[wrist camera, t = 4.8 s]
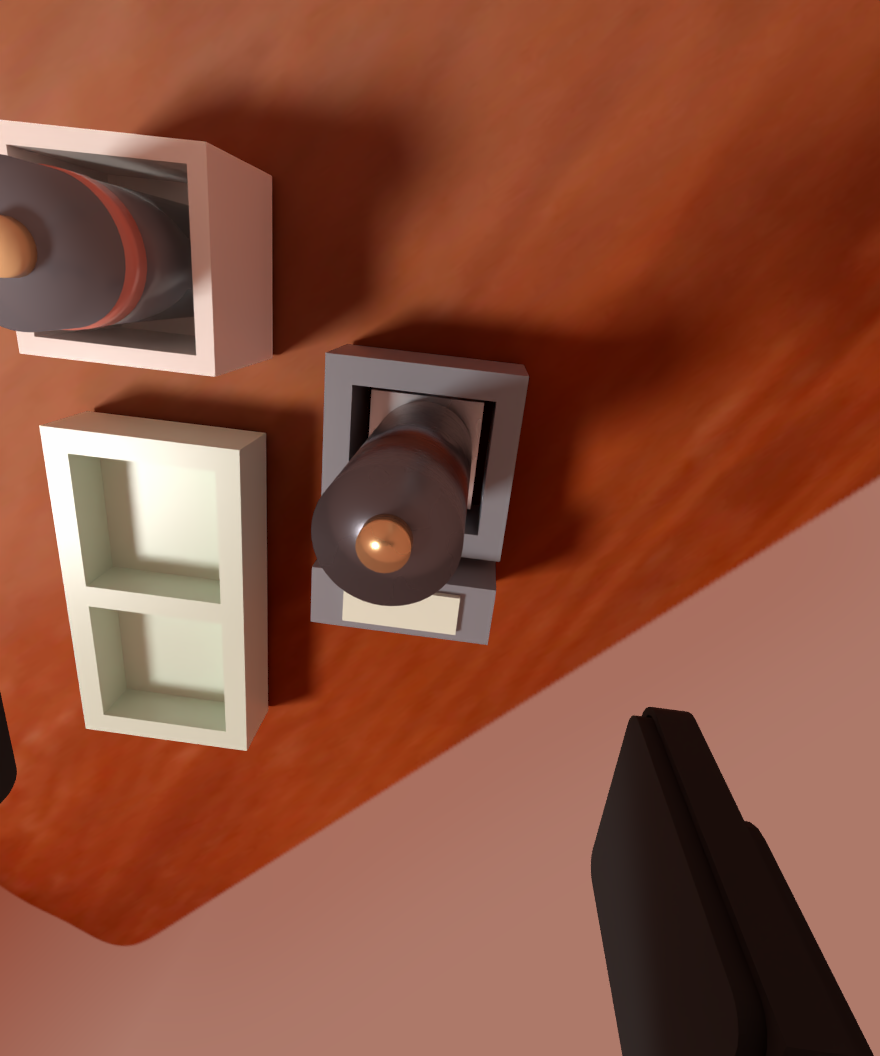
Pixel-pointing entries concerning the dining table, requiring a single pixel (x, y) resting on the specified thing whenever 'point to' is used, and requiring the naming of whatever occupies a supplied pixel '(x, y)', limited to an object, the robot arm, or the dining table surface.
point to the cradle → (473, 585)
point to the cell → (398, 508)
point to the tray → (164, 573)
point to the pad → (462, 407)
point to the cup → (134, 250)
